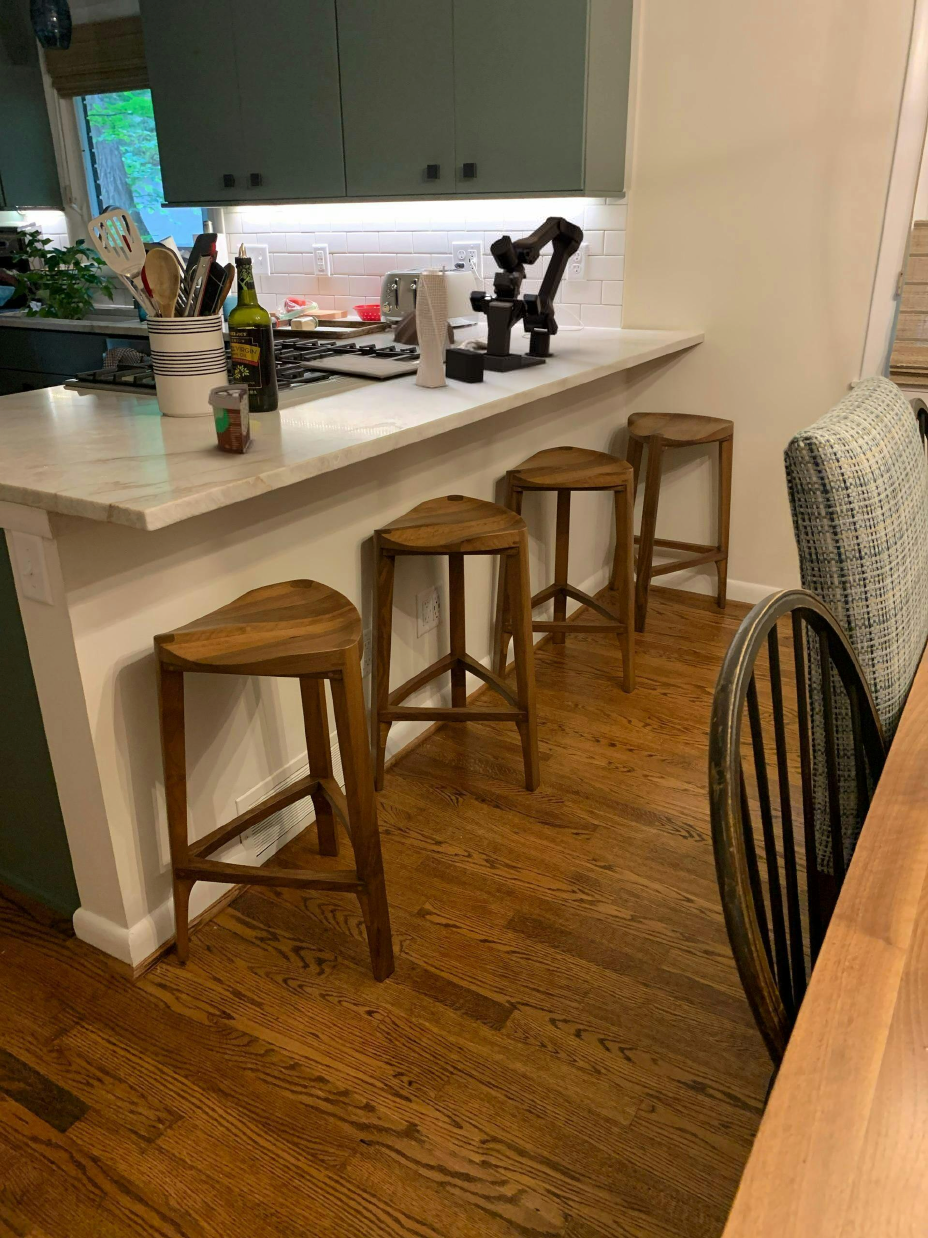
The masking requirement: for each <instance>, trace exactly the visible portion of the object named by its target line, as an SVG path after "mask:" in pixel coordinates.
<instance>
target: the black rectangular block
mask: <svg viewBox="0 0 928 1238" xmlns="http://www.w3.org/2000/svg"><path fill="white" fill-rule="evenodd" d="M451 348H452V347H451ZM484 353H485V352H480V351H475V350H471V349H468V348H467V349H466V348H465V349H462V348H458V347H453V348H452V349H446V360H445V362H444V364H445V366H444V372H445V378H449V379H454V380H457V381H461V382H466V383H469V384H472V383H482V382H484V375H485V374H484V373H485V370H484Z"/></svg>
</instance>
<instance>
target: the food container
mask: <svg viewBox="0 0 928 1238" xmlns="http://www.w3.org/2000/svg"><path fill="white" fill-rule="evenodd" d="M207 404H208V405H210V406H211V407H212V413H213V419H214V427H215V434H216V441H217V446H218V449H219V450H220V451H222V452H227V453H233V454H245V452H246V450H247V449H248V446H249V445H250V442H251V426H250V406H249V386H248V383H240V384H225V385H220V386H215V387H213V388H211V389H210V392H209V394H208V400H207Z"/></svg>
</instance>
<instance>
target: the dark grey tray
mask: <svg viewBox="0 0 928 1238" xmlns="http://www.w3.org/2000/svg"><path fill="white" fill-rule="evenodd" d="M483 353H484V371H490V372H496V373H505V372H511V371H515V370H521V369H524V368H529V367H533V366H538V365H539V366H540V365H543V364H546V362H547V359H545V358H540V357H539V358H538V357H531V356H524V355H523V354H518V353H512V352H510V353H509V354H507V355H505V356H502V355H493V354H487V351H485V352H483Z"/></svg>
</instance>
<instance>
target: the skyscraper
mask: <svg viewBox="0 0 928 1238" xmlns="http://www.w3.org/2000/svg"><path fill="white" fill-rule="evenodd" d="M448 299H449V298H448V289H447V281H446V264H445V263H444V262H443V263H442V272H440V269H436V268H426V272H423V269H420V270H419V278H418V285H417V292H416V299H415V310H416V327H417V335H418V342H419V345H418V346H419V351H420V354H419V360H418V364H419V366H418V370H416V371H417V372H416V378H415V385H416V386H421V387H426V388H431V389H432V388H438V387H444V386H445V387H446V386H447V379H446V377H445V366H444V362H443V359H442V353H441V351H442V348H443V344H444V339H445V334H446V329H447V321H449V320H448V319H449V318H448V317H449V301H448Z"/></svg>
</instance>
